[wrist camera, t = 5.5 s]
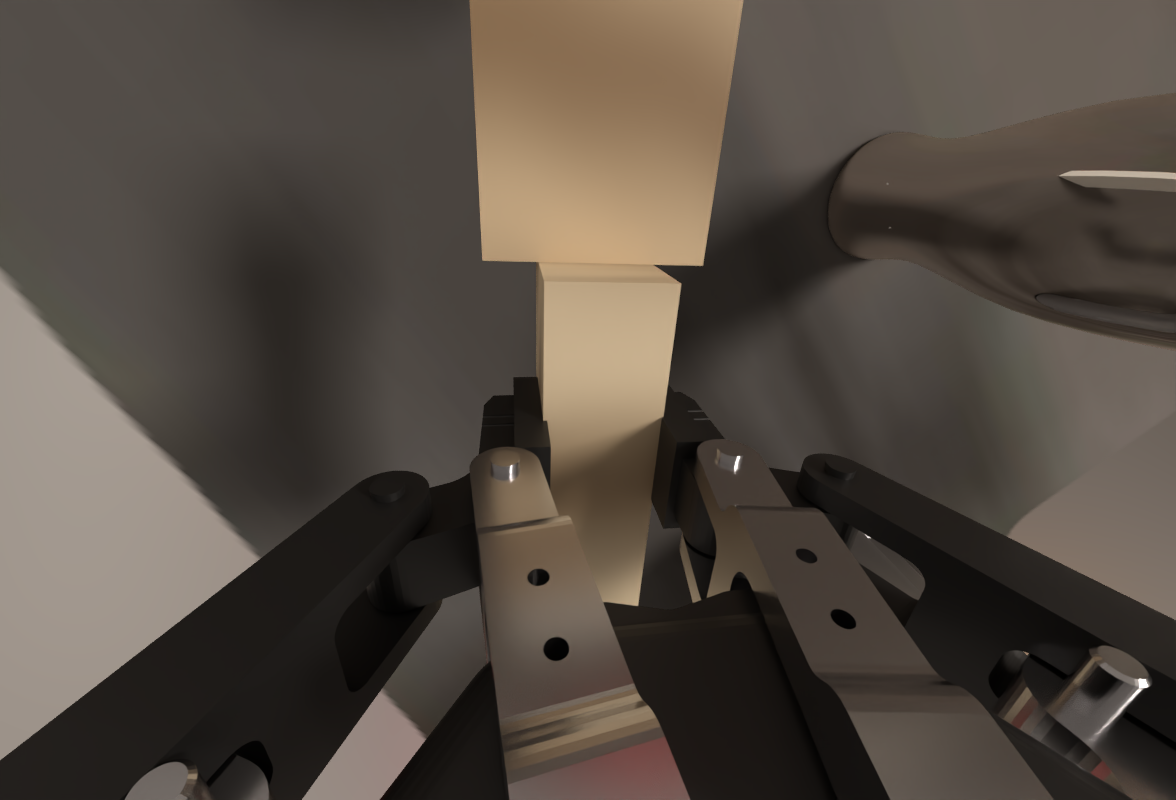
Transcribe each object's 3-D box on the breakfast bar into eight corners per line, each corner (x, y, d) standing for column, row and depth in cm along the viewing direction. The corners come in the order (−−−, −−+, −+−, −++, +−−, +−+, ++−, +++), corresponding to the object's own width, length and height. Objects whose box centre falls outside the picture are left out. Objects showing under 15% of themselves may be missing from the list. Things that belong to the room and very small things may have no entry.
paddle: (647, 557, 16) (674, 634, 13) (499, 568, 15) (497, 652, 13) (732, -60, 9) (824, -155, 6) (468, -96, 8) (448, -221, 6)
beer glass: (935, 93, 23) (1541, -5, 9) (947, 227, 26) (1410, 293, 13) (804, 166, 23) (1205, 170, 10) (833, 288, 26) (1162, 412, 13)
